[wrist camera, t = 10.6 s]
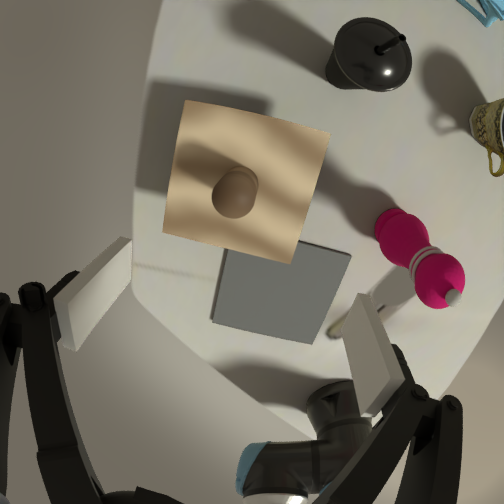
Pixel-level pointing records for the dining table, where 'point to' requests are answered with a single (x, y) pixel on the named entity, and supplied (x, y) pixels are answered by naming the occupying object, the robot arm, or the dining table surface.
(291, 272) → the mat
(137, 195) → the dining table surface
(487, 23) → the chair
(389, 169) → the dining table surface
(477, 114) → the ceramic cup
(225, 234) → the lid
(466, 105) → the dining table surface
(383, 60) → the drinking cup
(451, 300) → the pepper mill
